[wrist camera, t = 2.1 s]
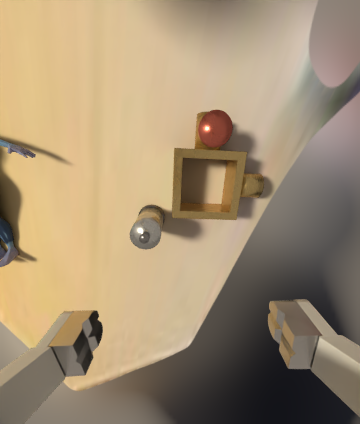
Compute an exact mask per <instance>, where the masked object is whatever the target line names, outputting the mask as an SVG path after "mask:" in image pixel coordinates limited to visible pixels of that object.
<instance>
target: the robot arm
mask: <svg viewBox="0 0 360 424" xmlns="http://www.w3.org/2000/svg"><path fill="white" fill-rule="evenodd" d="M269 309H270V310H271V313H270V314H269V315H268V324H269V329H270V332H271V334H272V336H273V338H274V340H276V341H277V342H278V343H279V344H280V349H279V350H280V353H281V355H282V356H283V358H284V361H285V363H286V365H287V367H288V369H311V370H312V372H313V373H314V374H315V375H317V376H318V377H319V378H320V379H321V380H322V381H323V382H324V383H325V384H326V385H327V386H328V387H329V388H330V389H331V390H332V391H333V392H334V393H335V394H336V395H337V396H338V397H340V399H342V400H343V401H344V402H345V403H346V404H347V405H348V406H349V407H350V408H351V409H352V410H353V411H354V412H355V413H356V414H357V415H358V416H360V346H358V345H357V344H355V343H353V342H352V341H350V340H349V339H347V338H345V337H344V336H342V335H341V336H340V335H337V334H336V333H335V331H334V330H333V329H332V328H331V327H330V326H329V324H328V323H327V322H326V321H325V320H324V319H323V318H322V316H321V315H320V314H319V313H318V312H317V310H316V309H315V308H314V307H313V306H312V305H311V304H310V302H308V301H307V300H306V299H303V300H284V301H271V302H270V304H269ZM98 317H99V314H98V312H97V311H95V310H91V311H65V312H63V313H62V314H61V315H60V316H59V317H58V318H57V320H56V321H55V322H54V324H53V325H52V326H51V327H50V329H49V330H48V331H47V333H46V334H45V335H44V337H43V338H42V339H41V340H40V342H39V343H38V344H37V346H36V347H35V348H31V349H29V350H28V351H27V352H25V353H24V354H22V355H21V356H20V357H18V358H17V359H16V360H14V361H13V362H11V363H10V364H9V365H7V366H6V367H5V368H3V369H2V370H0V424H24V423H25V422H26V421H27V420H28V419H29V418H30V417H31V416H32V414H33V413H34V412H35V411H36V410H37V409H38V408H39V407H40V406H41V404H42V403H43V402H44V401H45V400H46V399H47V398H48V397H49V396H50V394H51V393H52V392H53V391H54V390H55V389H56V388H57V387H58V386H59V385H60V383H61V382H62V381H63V380H64V379H65V377H68V376H82V375H86V373H87V370H88V368H89V366H90V364H91V361H92V359H93V351H94V350H95V349H96V348H97V347H98V346H99V343H100V341H101V338H102V333H103V327H102V323H101V322H100V321H99V320H97V319H98Z"/></svg>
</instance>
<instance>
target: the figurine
mask: <svg viewBox="0 0 360 424" xmlns="http://www.w3.org/2000/svg"><path fill="white" fill-rule="evenodd" d="M0 146H4V147H8V153H10V154H11V153H12V152H16V153H19V154H21V155H23V156H24V157H26V158H28V157H27V156H26V155H28V156H30V157H32V158H33V157H35V155H36V154H34V153H32V152H30V151H29V150H27V149H25V148H22V147H20V146H17V145H14V144H11V143H8V142H6V141H3V140H0ZM0 238H1V239H2V240H3V241H4V242H5V243H6V244H7V246H8V251H7V252H6V251H5V250H4V249H3V248H2V247H1V244H0V260H1V259H2V258H3V259H2V260H1V261H0V267H2V266H5V265H8V264H9V263H10V262H11V261H12V260H13V259H14V258H15V257H16V256H17V255H19V252H18V250H17V249H16V248H15V247H14V244H13V240H14V238H13V232H12V228H11V226H10V224H9V223H7V222H6V221H5V220H4V219H3V218H1V217H0ZM0 241H1V240H0Z"/></svg>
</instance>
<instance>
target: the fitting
mask: <svg viewBox="0 0 360 424" xmlns="http://www.w3.org/2000/svg"><path fill="white" fill-rule="evenodd" d="M232 128H233V127H232V121H231V119H230V117H229V116H228V114H226V113H225V112H224V111H221V110H212V111H210V112H201V113H198V114H197V123H196V137H195V149H181V148H175V149H174V172H173V200H172V218H191V219H223V220H236V219H237V212H238V206H239V200H240V197H253V198H258V197H259V196H260V195H261V194H262V192H263V188H264V179H263V176H262V175H261V174H251V173H244V169H245V162H246V156H247V152H238V151H220V148H221V146H222V145H224V144H225V143H226V142H227V141H228V140H229V138H230V136H231V134H232ZM183 158H201V159H221V160H227V165H226V173H225V181H224V189H223V196H222V204H200V203H180V201H181V181H182V161H183Z"/></svg>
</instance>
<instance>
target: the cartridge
mask: <svg viewBox="0 0 360 424" xmlns="http://www.w3.org/2000/svg"><path fill="white" fill-rule="evenodd" d="M164 218H165V217H164V213H163V211H162V209H161V208H159V207H158V206H155V205H147V206H145V207H143V208H142V209H141V211H140V213H139V216H138V218H137V220H136V222H135V223H134V225H133V227H132V229H131V231H130V239H131V241H132V243H133V244H134V245H135V246H136V247H138V248H141V249H151V248H153V247H155V246H156V245H157V244H158V243H159V241H160V237H161V231H162V225H163V223H164Z"/></svg>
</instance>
